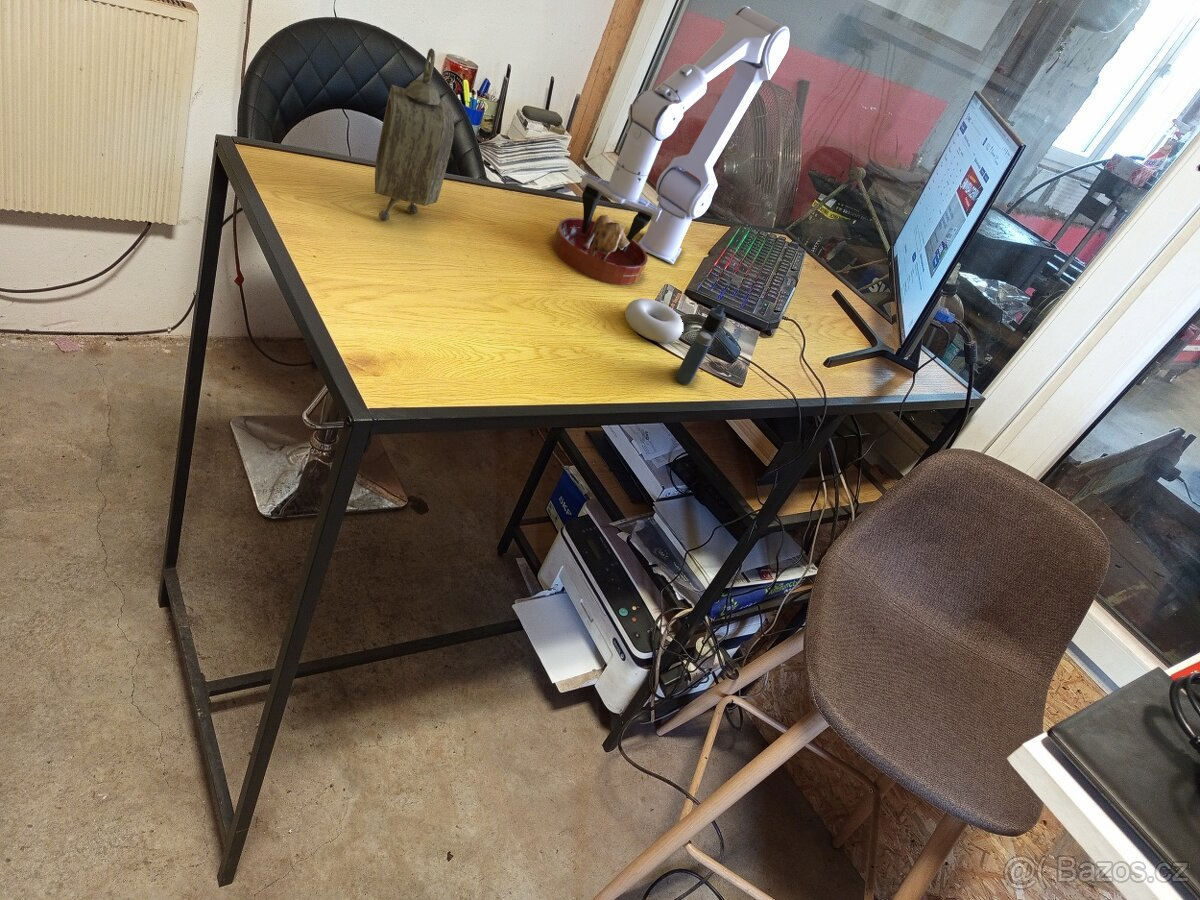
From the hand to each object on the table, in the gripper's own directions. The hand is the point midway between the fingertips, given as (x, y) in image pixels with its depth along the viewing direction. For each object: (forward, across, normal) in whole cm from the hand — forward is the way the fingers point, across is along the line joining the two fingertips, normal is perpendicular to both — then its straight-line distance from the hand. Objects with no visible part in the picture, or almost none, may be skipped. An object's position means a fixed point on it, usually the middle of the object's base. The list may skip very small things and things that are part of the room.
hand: (603, 240), depth 137 cm
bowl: (+4, 0, 0) cm, 4 cm away
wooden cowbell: (+4, -30, -17) cm, 35 cm away
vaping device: (+4, +22, -26) cm, 35 cm away
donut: (+4, +14, -16) cm, 22 cm away
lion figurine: (+4, 0, 0) cm, 4 cm away
